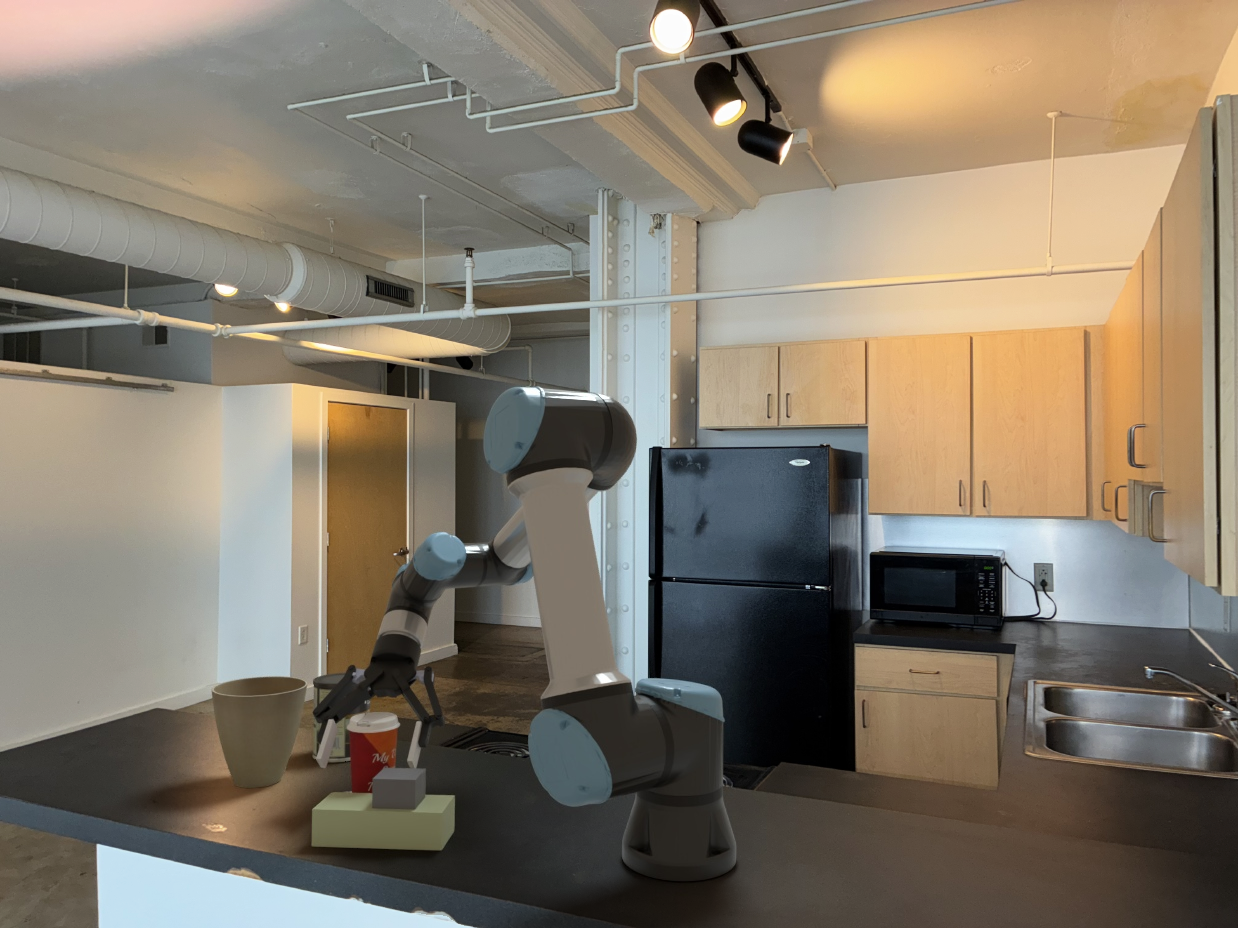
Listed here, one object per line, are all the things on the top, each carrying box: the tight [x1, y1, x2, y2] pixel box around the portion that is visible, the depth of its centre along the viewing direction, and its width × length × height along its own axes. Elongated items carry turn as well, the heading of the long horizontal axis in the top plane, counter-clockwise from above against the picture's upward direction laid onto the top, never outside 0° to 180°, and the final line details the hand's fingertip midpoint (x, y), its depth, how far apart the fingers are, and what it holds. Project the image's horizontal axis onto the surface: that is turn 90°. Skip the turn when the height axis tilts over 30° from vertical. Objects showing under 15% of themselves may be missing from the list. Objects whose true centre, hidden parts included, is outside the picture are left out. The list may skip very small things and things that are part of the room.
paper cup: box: [347, 711, 401, 793], centre depth 133 cm, size 8×8×14 cm
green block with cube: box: [311, 767, 456, 851], centre depth 129 cm, size 20×17×9 cm
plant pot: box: [211, 675, 308, 789], centre depth 148 cm, size 15×15×16 cm
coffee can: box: [312, 672, 371, 763], centre depth 163 cm, size 10×10×14 cm
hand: (365, 764), depth 130 cm, fingers open, 13 cm apart
